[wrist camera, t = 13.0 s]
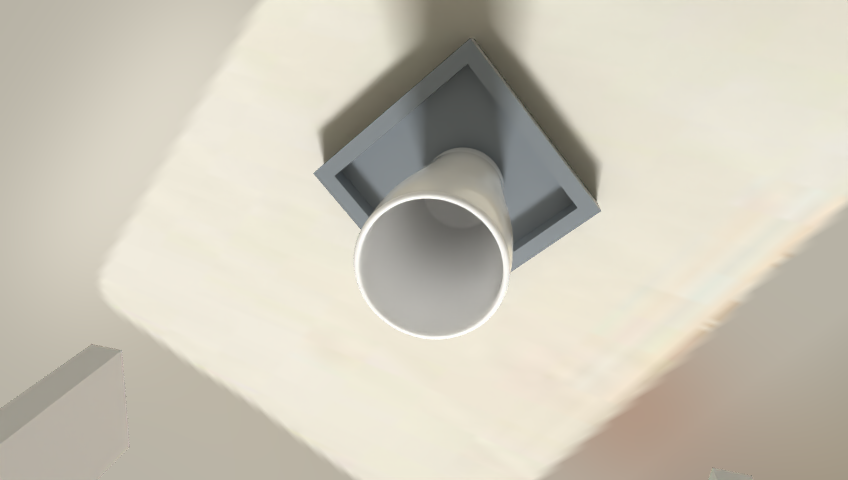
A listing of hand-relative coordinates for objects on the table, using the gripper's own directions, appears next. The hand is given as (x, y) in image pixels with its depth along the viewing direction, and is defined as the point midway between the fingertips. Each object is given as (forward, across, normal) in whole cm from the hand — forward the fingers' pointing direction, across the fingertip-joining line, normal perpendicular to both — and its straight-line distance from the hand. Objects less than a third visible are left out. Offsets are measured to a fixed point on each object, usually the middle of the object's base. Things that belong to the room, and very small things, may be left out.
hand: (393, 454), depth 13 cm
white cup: (+27, -1, -1) cm, 27 cm away
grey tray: (+27, -2, -1) cm, 27 cm away
